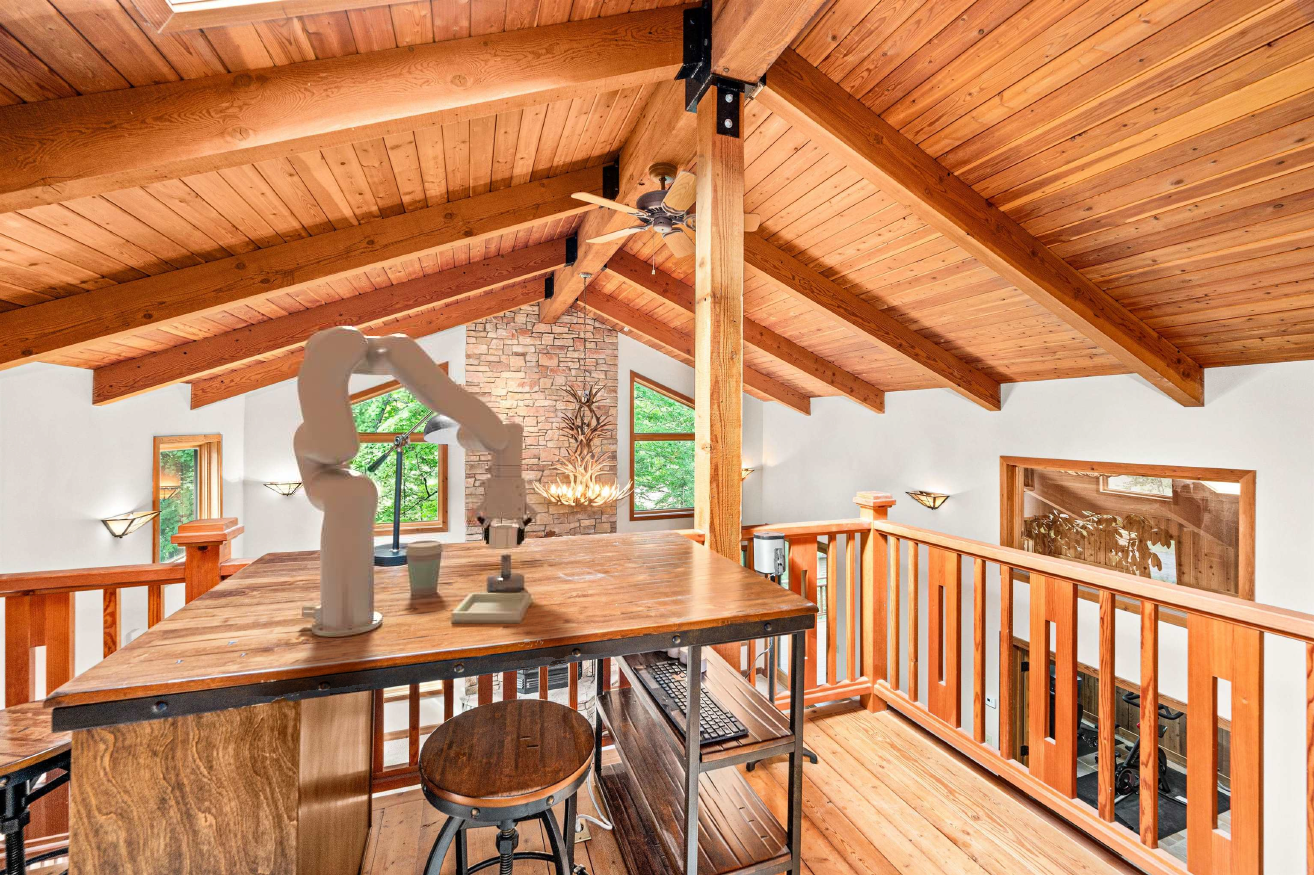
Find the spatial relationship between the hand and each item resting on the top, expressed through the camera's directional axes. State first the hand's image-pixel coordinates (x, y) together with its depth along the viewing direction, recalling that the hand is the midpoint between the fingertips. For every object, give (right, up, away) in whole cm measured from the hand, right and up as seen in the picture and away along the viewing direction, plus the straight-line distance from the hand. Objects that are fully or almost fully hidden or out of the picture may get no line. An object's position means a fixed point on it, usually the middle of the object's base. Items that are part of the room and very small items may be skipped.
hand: (504, 543), depth 143 cm
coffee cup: (-19, -12, -3) cm, 22 cm away
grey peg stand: (0, -12, +1) cm, 12 cm away
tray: (+2, -12, -16) cm, 20 cm away
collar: (0, -1, 0) cm, 1 cm away
